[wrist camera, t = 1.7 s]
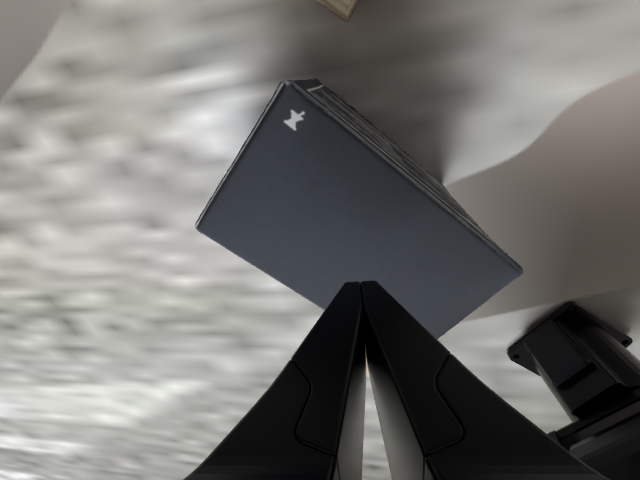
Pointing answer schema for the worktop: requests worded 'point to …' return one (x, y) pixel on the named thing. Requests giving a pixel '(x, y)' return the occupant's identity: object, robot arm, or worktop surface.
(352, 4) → the marked block 1
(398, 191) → the small box
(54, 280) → the worktop surface
